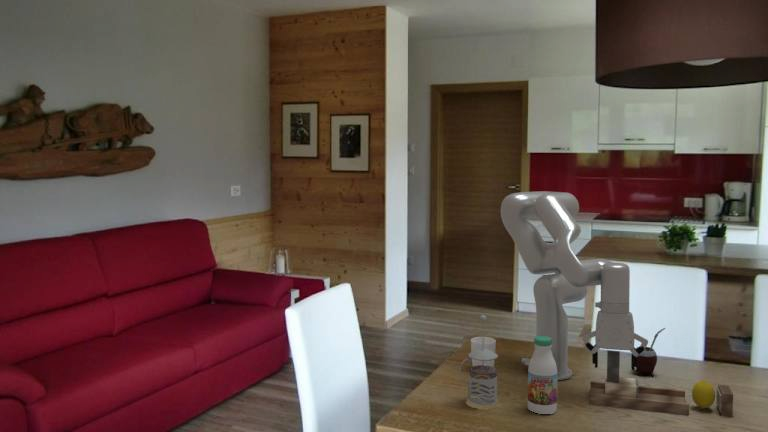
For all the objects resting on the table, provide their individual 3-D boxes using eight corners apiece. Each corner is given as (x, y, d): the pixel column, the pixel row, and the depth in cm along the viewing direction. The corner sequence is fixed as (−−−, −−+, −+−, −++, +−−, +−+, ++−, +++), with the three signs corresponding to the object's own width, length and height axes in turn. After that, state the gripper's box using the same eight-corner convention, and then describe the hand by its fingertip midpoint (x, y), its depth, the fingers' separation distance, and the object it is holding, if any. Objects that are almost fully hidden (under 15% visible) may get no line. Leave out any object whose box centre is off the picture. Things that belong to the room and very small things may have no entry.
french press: (498, 411, 174) (499, 320, 172) (455, 407, 177) (455, 318, 175) (502, 398, 183) (503, 312, 181) (462, 394, 187) (462, 309, 184)
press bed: (589, 404, 178) (589, 394, 178) (590, 390, 189) (590, 381, 188) (689, 415, 170) (689, 404, 170) (684, 400, 180) (684, 390, 180)
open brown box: (719, 415, 170) (720, 393, 169) (715, 405, 176) (716, 384, 176) (732, 417, 169) (733, 394, 168) (727, 407, 175) (728, 385, 175)
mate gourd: (627, 372, 203) (628, 326, 202) (643, 368, 207) (645, 322, 206) (647, 379, 197) (649, 331, 196) (664, 374, 201) (665, 327, 200)
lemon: (717, 413, 171) (718, 384, 170) (694, 412, 172) (695, 383, 171) (711, 405, 176) (712, 377, 175) (689, 404, 177) (690, 376, 176)
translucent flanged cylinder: (477, 365, 212) (478, 335, 212) (499, 369, 208) (500, 339, 207) (466, 371, 206) (466, 341, 205) (488, 376, 202) (488, 345, 201)
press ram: (604, 397, 179) (605, 355, 178) (605, 389, 185) (605, 348, 184) (638, 401, 176) (639, 358, 175) (637, 392, 183) (638, 351, 181)
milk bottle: (525, 404, 179) (525, 333, 177) (553, 404, 178) (554, 333, 177) (530, 415, 171) (531, 342, 169) (560, 415, 171) (561, 341, 169)
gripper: (581, 308, 178) (581, 369, 180) (649, 312, 173) (648, 374, 174) (582, 303, 185) (582, 361, 187) (647, 306, 180) (647, 366, 181)
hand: (614, 367), depth 180 cm, fingers open, 9 cm apart
